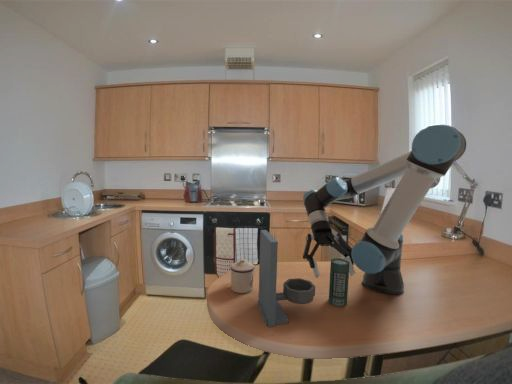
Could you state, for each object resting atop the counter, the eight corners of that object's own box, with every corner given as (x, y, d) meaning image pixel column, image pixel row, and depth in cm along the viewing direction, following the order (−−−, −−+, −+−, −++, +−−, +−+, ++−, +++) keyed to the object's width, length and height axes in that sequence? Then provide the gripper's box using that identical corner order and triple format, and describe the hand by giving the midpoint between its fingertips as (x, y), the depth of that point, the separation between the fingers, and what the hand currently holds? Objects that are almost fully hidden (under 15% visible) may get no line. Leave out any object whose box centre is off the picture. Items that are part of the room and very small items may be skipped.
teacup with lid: (255, 293, 99) (256, 263, 98) (231, 295, 98) (232, 264, 96) (250, 279, 111) (250, 252, 110) (228, 280, 109) (228, 253, 108)
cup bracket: (303, 298, 96) (306, 228, 93) (320, 321, 82) (325, 240, 80) (257, 302, 92) (258, 230, 90) (266, 327, 79) (269, 242, 76)
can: (345, 299, 97) (348, 259, 95) (347, 307, 91) (350, 265, 89) (328, 296, 98) (330, 257, 96) (329, 305, 92) (331, 263, 91)
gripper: (344, 228, 113) (362, 277, 100) (287, 229, 108) (299, 281, 95) (351, 218, 107) (372, 269, 94) (292, 219, 102) (305, 273, 89)
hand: (335, 275), depth 94 cm, fingers open, 13 cm apart
